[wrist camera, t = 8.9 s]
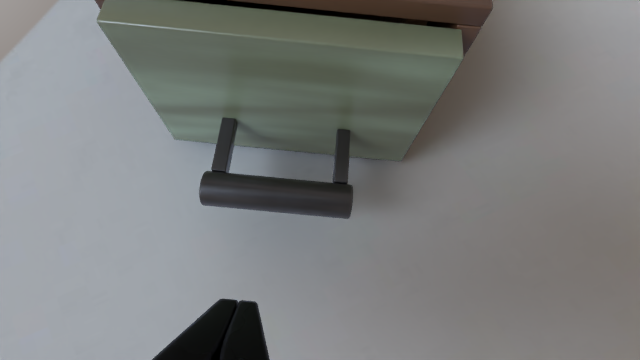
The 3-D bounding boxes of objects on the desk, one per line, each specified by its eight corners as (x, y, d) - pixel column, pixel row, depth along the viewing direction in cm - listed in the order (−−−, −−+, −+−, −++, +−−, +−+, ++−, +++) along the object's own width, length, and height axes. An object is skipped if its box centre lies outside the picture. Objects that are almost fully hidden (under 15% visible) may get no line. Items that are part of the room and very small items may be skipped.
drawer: (401, 238, 17) (473, 174, 10) (155, 215, 17) (50, 133, 10) (401, -19, 23) (447, -174, 16) (220, -38, 23) (183, -204, 16)
